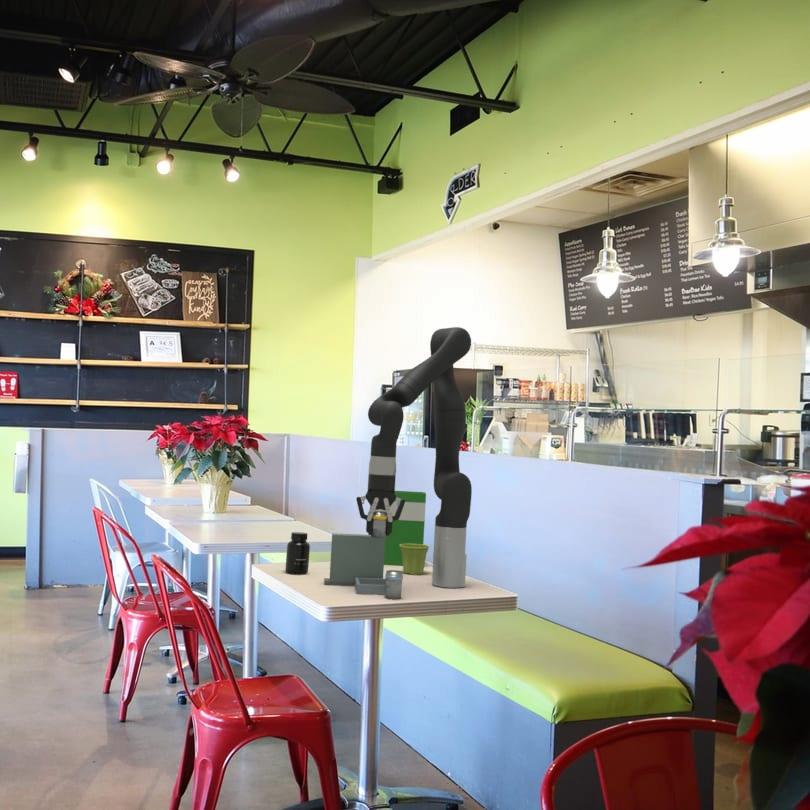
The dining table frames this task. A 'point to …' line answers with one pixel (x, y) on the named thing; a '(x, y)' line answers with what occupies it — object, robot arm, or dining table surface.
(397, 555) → the hardback book
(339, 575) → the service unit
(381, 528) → the grey gold-banded metal jar
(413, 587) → the dining table surface
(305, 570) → the supplement bottle
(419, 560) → the plant pot
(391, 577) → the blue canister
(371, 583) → the tray
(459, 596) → the dining table surface
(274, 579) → the dining table surface
